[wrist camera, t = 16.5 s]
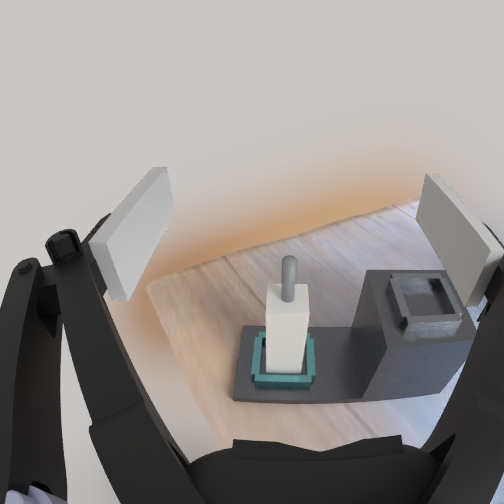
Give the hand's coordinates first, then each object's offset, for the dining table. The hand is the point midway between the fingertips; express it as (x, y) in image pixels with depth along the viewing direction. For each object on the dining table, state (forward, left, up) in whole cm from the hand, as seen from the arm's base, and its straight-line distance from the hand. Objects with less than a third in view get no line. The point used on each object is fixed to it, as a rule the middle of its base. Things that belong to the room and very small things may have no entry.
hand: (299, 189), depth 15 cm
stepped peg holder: (-12, +4, -30) cm, 32 cm away
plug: (-9, -3, -29) cm, 30 cm away
